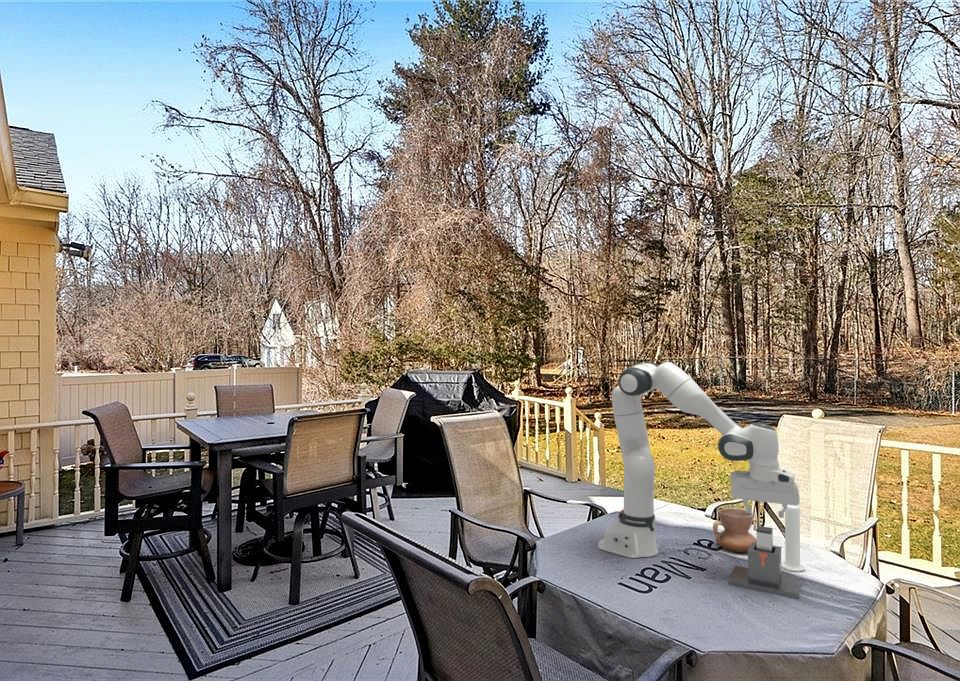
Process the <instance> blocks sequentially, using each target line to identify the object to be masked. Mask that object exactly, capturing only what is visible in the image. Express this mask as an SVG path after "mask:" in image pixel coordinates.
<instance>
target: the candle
mask: <svg viewBox="0 0 960 681" xmlns="http://www.w3.org/2000/svg"><path fill="white" fill-rule="evenodd" d="M800 511H801V510H800V506H799V505H797V506H795V505H788V506H787V509H786V510H785V512H784V528H785V529H784V533H785V534H784V538H785V540H784V541H785V542H784V544H785V545H784V546H785V548H784V551H785V554H784V556H785V557H784V559H785V562H781V569H783V568H784V570H785V569H786V570H785V571H788V570H789V572H792V571H795V572H794V573H801V572H804V571H805V567H804V565H802V564H801V540H800V539H801V537H800V536H801V528H800V527H801V523H800V521H801V520H800V518H801V517H800V515H801V514H800Z"/></svg>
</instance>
